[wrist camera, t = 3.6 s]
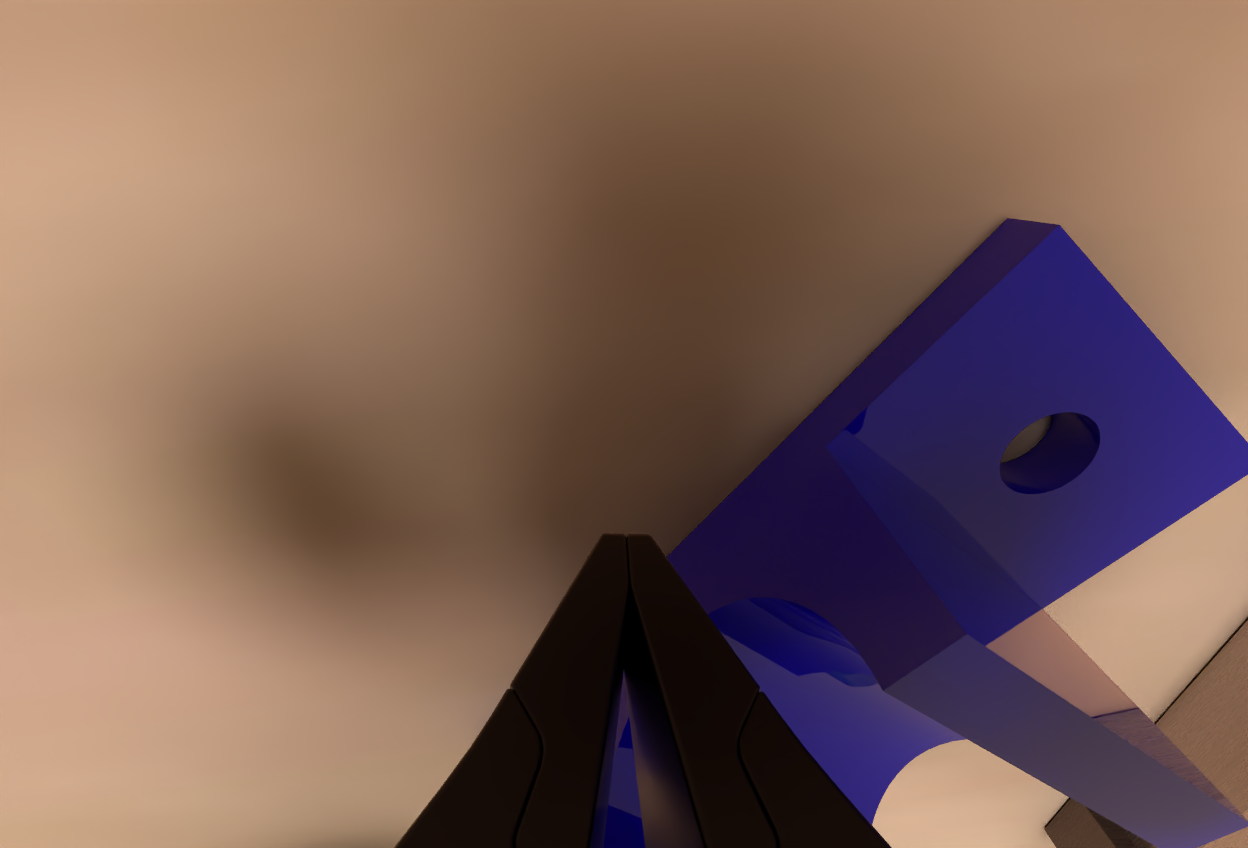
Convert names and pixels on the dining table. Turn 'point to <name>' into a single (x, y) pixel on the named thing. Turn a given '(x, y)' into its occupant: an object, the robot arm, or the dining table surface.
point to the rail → (1188, 752)
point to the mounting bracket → (968, 544)
